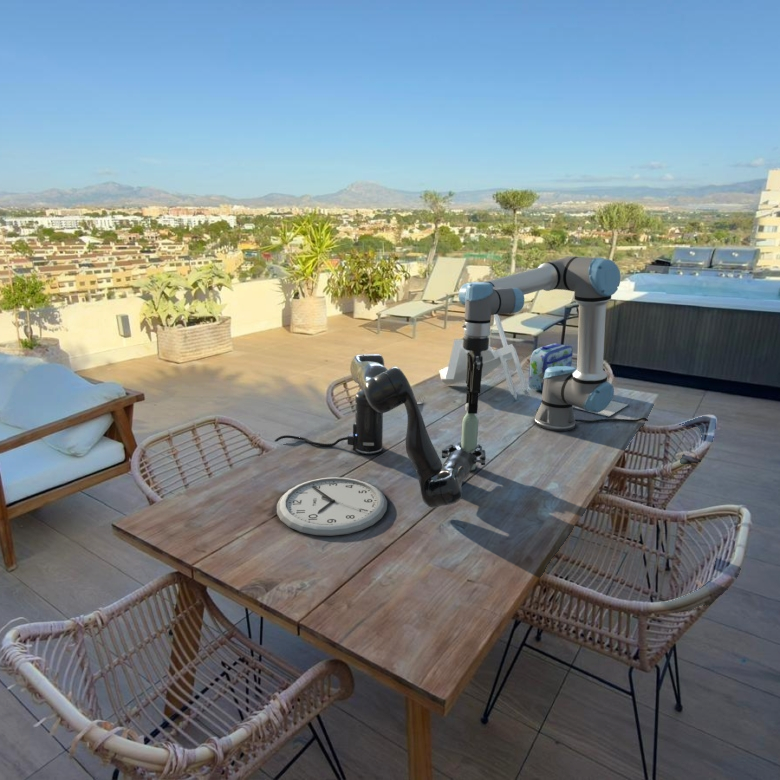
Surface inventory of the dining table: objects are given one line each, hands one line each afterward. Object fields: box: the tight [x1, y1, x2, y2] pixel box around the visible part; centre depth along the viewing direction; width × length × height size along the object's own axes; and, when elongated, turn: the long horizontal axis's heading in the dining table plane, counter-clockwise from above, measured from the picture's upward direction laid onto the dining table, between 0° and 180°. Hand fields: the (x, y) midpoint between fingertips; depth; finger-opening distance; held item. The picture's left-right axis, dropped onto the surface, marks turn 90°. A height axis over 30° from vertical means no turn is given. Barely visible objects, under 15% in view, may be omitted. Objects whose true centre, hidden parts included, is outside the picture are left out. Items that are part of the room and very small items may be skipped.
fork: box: [417, 395, 425, 405], centre depth 222 cm, size 3×16×2 cm, turn 160°
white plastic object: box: [438, 314, 531, 400], centre depth 245 cm, size 37×45×31 cm
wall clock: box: [276, 476, 388, 537], centre depth 142 cm, size 30×2×30 cm
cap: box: [464, 402, 479, 413], centre depth 161 cm, size 4×4×2 cm
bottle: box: [460, 411, 480, 471], centre depth 164 cm, size 5×5×21 cm
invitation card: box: [573, 400, 629, 418], centre depth 226 cm, size 21×1×15 cm
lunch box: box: [528, 343, 574, 392], centre depth 249 cm, size 26×11×21 cm, turn 134°
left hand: (470, 445), depth 167 cm, fingers closed on bottle, 5 cm apart
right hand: (471, 410), depth 161 cm, fingers closed on cap, 4 cm apart
